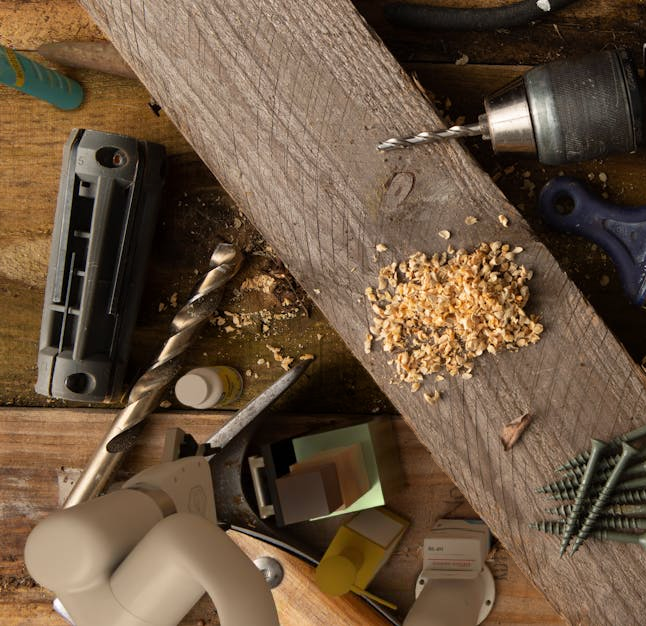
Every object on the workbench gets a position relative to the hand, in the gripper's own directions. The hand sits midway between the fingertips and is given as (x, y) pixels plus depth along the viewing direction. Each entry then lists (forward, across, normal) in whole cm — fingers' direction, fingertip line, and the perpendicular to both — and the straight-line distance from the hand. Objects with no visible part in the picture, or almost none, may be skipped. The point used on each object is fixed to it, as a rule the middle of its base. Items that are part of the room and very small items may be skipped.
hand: (214, 488), depth 99 cm
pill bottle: (+27, +12, +10) cm, 32 cm away
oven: (+27, -2, -11) cm, 29 cm away
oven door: (+28, -3, -2) cm, 28 cm away
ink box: (+28, -16, -25) cm, 41 cm away
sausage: (+22, +64, +23) cm, 71 cm away
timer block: (+2, -2, -12) cm, 12 cm away
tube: (+27, +62, +28) cm, 73 cm away
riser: (+14, -2, -12) cm, 19 cm away
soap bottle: (+28, -16, -14) cm, 35 cm away
